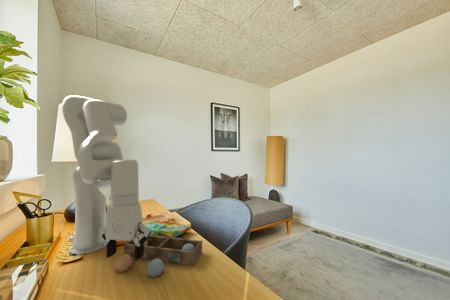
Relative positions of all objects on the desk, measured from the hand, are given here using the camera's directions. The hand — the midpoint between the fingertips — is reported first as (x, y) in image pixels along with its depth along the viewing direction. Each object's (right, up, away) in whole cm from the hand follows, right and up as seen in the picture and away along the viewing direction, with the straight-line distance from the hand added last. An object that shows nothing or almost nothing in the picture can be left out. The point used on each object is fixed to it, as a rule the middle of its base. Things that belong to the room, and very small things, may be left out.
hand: (125, 256), depth 55 cm
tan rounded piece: (0, -4, +10) cm, 11 cm away
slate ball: (+10, -5, -2) cm, 11 cm away
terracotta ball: (-1, -5, 0) cm, 5 cm away
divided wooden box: (+9, -5, +8) cm, 13 cm away
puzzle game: (+4, -6, +26) cm, 26 cm away
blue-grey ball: (+18, -4, +6) cm, 19 cm away
